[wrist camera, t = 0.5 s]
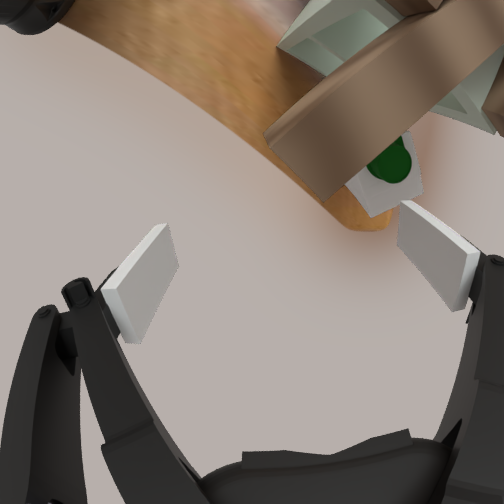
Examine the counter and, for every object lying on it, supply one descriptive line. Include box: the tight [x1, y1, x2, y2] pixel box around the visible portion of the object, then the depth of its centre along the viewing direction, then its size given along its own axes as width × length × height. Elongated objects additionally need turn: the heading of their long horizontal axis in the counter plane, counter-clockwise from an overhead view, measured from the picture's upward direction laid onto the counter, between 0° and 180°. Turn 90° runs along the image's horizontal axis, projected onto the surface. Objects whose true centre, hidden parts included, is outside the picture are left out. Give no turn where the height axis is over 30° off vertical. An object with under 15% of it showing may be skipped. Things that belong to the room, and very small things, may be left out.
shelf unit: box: [276, 0, 504, 135], centre depth 19 cm, size 14×13×30 cm
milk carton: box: [345, 131, 424, 218], centre depth 33 cm, size 9×9×20 cm
